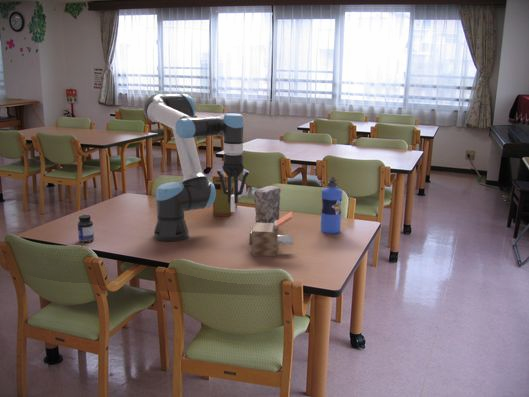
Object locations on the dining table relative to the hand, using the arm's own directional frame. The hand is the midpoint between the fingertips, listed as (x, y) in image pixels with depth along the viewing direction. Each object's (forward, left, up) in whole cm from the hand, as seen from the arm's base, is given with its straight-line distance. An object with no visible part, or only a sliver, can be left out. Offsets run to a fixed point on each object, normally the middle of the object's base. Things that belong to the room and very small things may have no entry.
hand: (232, 210), depth 217 cm
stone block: (+12, +27, -17) cm, 34 cm away
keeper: (+21, 0, -4) cm, 21 cm away
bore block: (+13, -1, -16) cm, 21 cm away
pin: (+16, -1, -14) cm, 21 cm away
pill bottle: (-64, +3, -17) cm, 66 cm away
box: (-13, +57, -17) cm, 60 cm away
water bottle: (+41, +29, -17) cm, 53 cm away
